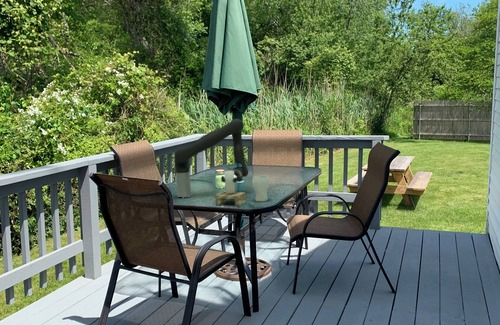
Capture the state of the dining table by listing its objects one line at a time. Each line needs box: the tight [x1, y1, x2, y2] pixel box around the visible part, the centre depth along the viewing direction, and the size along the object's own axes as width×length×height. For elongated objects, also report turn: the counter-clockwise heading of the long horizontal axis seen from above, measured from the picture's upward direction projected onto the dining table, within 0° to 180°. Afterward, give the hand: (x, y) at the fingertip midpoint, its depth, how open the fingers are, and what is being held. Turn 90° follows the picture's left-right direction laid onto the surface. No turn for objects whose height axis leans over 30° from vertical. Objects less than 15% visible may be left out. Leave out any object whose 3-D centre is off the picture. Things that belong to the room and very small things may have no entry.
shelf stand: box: [214, 191, 247, 207], centre depth 317 cm, size 16×12×6 cm
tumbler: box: [223, 170, 236, 193], centre depth 315 cm, size 6×6×13 cm
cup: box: [251, 175, 270, 202], centre depth 321 cm, size 11×11×15 cm
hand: (228, 180), depth 313 cm, fingers closed on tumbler, 6 cm apart
